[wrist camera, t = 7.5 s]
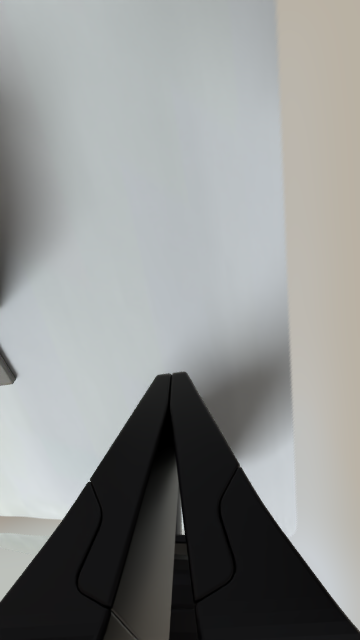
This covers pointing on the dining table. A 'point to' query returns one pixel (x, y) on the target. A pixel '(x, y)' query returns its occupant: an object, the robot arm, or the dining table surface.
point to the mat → (5, 373)
